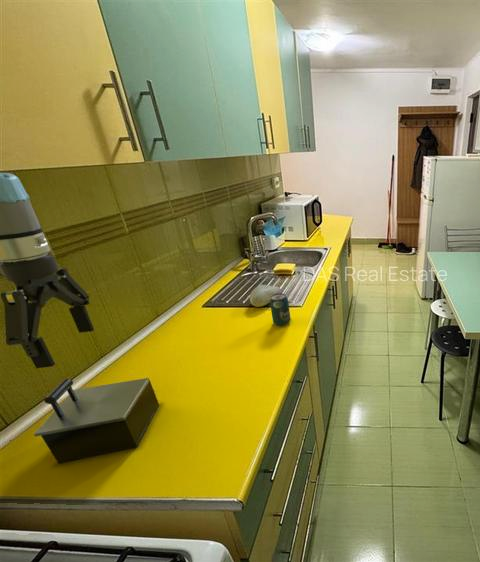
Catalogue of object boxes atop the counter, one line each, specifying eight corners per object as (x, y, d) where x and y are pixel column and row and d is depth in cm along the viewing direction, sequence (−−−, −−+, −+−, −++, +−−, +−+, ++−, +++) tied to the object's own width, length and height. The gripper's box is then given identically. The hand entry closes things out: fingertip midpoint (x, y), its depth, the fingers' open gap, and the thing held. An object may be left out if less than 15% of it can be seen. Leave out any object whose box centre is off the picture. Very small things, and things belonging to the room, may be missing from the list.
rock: (242, 309, 134) (261, 292, 152) (267, 311, 133) (283, 294, 152) (240, 293, 131) (260, 278, 150) (266, 296, 130) (282, 280, 149)
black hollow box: (58, 463, 68) (40, 435, 65) (93, 417, 80) (80, 391, 77) (137, 447, 72) (124, 420, 68) (159, 405, 84) (149, 380, 80)
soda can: (286, 328, 120) (282, 301, 116) (270, 326, 122) (265, 299, 117) (293, 319, 127) (290, 293, 122) (278, 317, 128) (274, 292, 123)
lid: (35, 436, 65) (20, 412, 62) (75, 392, 77) (64, 370, 74) (124, 420, 68) (114, 396, 66) (149, 380, 80) (141, 359, 78)
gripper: (-8, 278, 49) (47, 382, 57) (86, 239, 71) (117, 317, 80) (-68, 282, 47) (-2, 388, 56) (48, 241, 70) (83, 321, 78)
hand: (68, 347), depth 68 cm, fingers open, 13 cm apart
